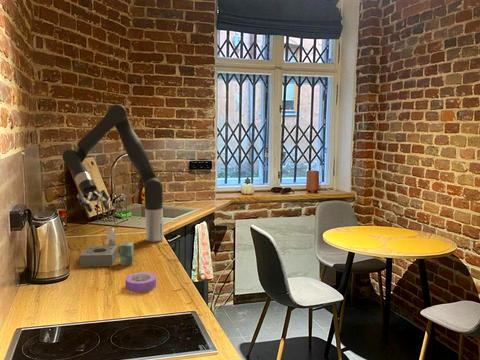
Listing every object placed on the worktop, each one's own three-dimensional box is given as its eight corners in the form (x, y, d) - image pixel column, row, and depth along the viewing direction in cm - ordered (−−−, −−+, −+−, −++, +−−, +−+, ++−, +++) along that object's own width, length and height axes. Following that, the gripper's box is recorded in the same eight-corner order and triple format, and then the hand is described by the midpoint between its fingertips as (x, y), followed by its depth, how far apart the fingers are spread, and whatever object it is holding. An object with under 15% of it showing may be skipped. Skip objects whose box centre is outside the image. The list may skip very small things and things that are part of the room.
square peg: (133, 261, 200) (133, 242, 198) (132, 265, 195) (131, 245, 193) (122, 261, 199) (122, 242, 198) (120, 265, 194) (119, 245, 193)
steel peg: (116, 249, 218) (115, 227, 216) (114, 251, 214) (114, 229, 212) (108, 249, 217) (107, 227, 216) (106, 251, 213) (105, 229, 212)
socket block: (118, 255, 207) (118, 245, 206) (112, 265, 193) (111, 254, 193) (88, 256, 206) (87, 246, 205) (80, 266, 192) (79, 255, 191)
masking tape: (161, 283, 174) (161, 274, 173) (145, 294, 163) (145, 284, 162) (136, 279, 177) (136, 270, 177) (119, 290, 167) (119, 280, 166)
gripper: (74, 179, 204) (88, 207, 199) (101, 177, 215) (115, 203, 209) (69, 189, 208) (82, 217, 203) (95, 186, 219) (109, 212, 214)
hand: (99, 209), depth 206 cm, fingers open, 8 cm apart
